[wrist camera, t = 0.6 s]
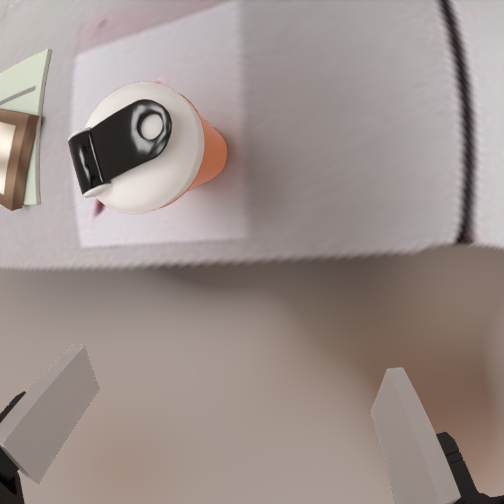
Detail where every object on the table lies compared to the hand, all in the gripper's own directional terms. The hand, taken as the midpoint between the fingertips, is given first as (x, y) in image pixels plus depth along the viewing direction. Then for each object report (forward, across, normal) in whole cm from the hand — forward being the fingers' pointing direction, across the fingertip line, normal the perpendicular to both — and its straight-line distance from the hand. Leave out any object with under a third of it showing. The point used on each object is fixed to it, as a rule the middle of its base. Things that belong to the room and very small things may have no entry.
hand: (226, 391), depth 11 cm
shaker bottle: (+26, -7, +10) cm, 29 cm away
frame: (+24, -46, +15) cm, 54 cm away
